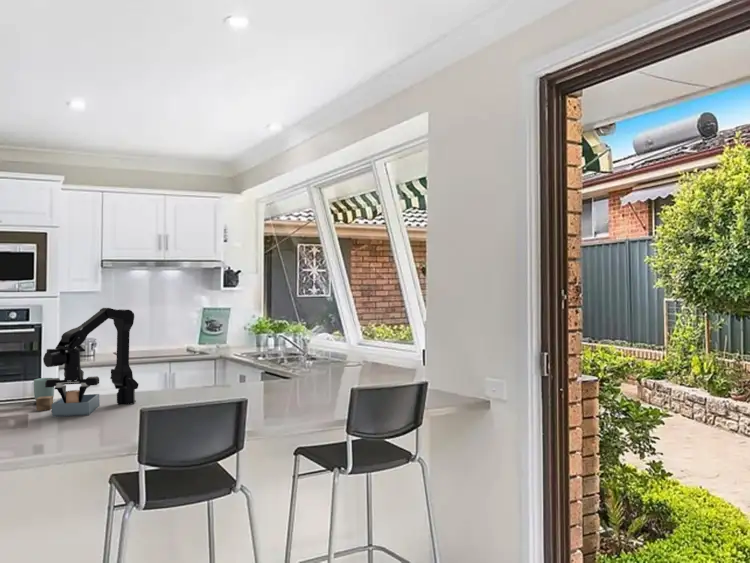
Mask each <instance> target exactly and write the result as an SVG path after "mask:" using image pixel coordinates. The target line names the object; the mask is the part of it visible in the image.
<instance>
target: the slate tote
mask: <svg viewBox="0 0 750 563" xmlns="http://www.w3.org/2000/svg"><path fill="white" fill-rule="evenodd" d="M100 404H101V402H100V393H93V394H91V393H90V394H89V393H88V394H84V396H83V399H82V402H80V403H64V401H63V399H62V397H60V398H58V399H57V400H56V401H55V402H54V401H53V404H52V409H51V418H57V417H58V418H61V417H79V416H80V417H81V416H82V417H83V416H90V415H92V413H94V412H95V411H96V410H97V409H98V408H99V407H100Z"/></svg>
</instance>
